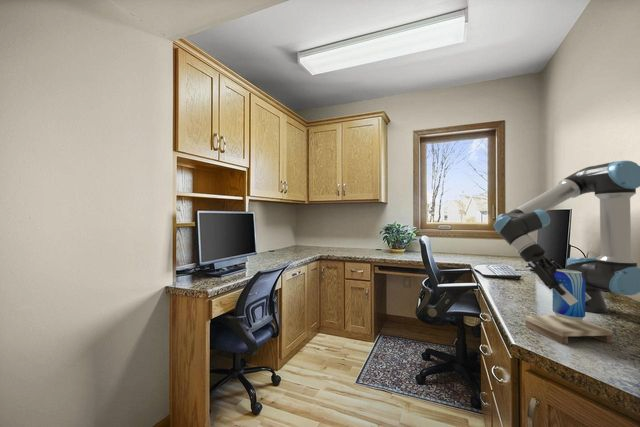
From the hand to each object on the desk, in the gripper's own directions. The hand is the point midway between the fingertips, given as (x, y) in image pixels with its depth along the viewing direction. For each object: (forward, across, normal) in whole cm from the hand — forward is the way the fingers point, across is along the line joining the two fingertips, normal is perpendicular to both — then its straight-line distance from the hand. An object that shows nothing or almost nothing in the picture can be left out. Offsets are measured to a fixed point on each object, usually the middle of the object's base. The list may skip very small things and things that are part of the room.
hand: (580, 301), depth 91 cm
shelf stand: (+6, 0, -12) cm, 13 cm away
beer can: (+2, 0, -7) cm, 7 cm away
